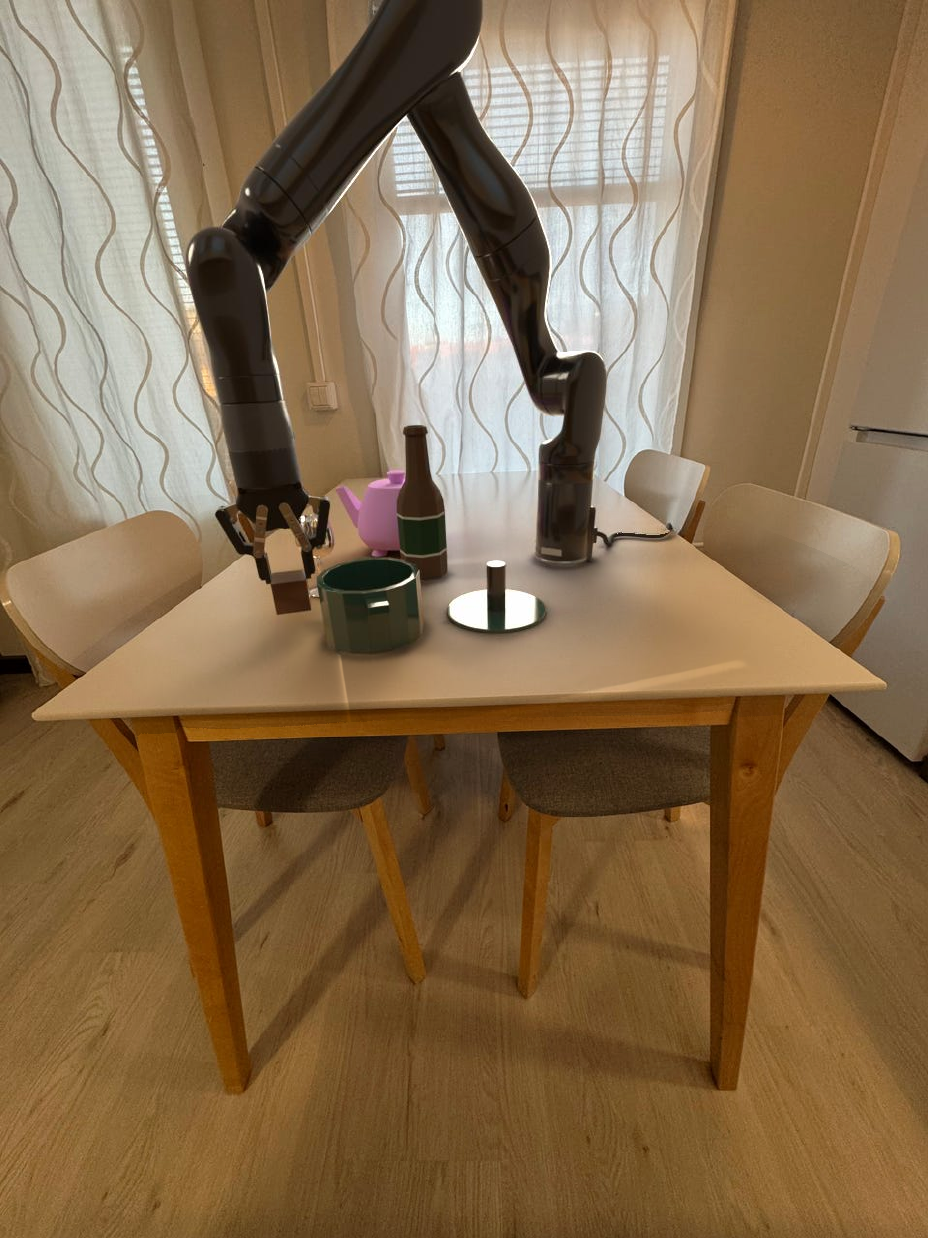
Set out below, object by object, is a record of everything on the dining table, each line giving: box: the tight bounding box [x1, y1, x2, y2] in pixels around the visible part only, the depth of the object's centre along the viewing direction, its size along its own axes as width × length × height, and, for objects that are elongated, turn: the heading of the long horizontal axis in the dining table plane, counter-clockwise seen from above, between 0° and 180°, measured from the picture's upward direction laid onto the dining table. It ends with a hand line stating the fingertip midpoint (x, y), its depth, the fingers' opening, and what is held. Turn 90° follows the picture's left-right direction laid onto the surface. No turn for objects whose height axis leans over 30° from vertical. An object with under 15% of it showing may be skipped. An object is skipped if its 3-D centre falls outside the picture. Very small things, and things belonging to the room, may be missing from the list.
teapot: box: [335, 469, 406, 558], centre depth 98 cm, size 20×20×15 cm
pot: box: [315, 556, 425, 655], centre depth 64 cm, size 13×18×8 cm
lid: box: [447, 560, 547, 634], centre depth 69 cm, size 14×14×8 cm
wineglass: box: [294, 513, 335, 598], centre depth 78 cm, size 6×6×12 cm
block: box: [270, 568, 312, 616], centre depth 67 cm, size 4×4×4 cm
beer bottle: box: [397, 424, 448, 582], centre depth 80 cm, size 8×8×24 cm
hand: (289, 578), depth 66 cm, fingers closed on block, 4 cm apart
